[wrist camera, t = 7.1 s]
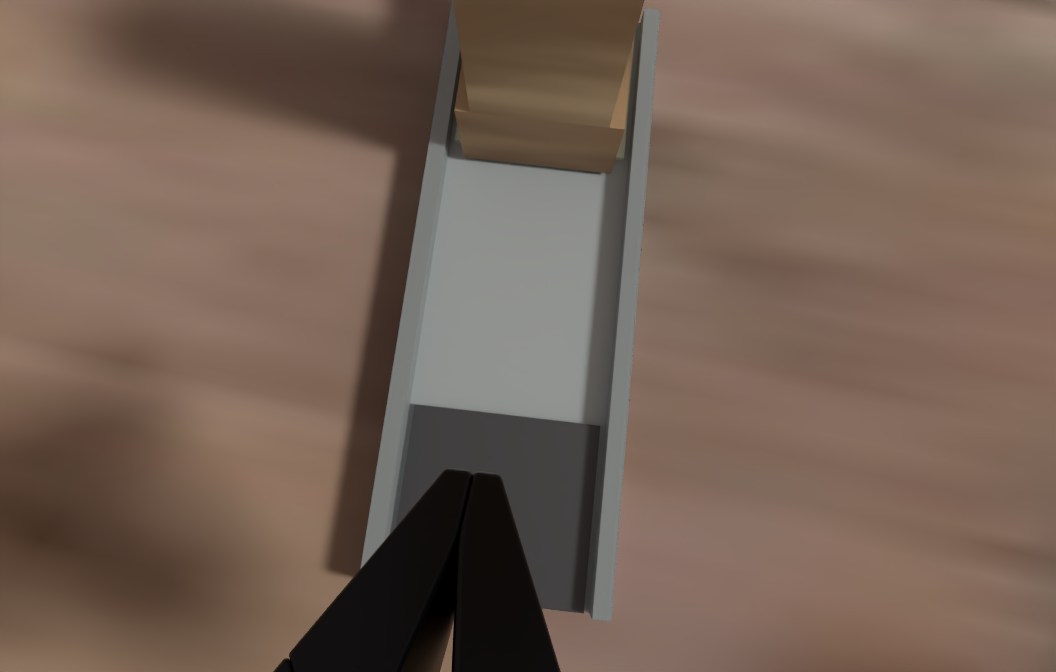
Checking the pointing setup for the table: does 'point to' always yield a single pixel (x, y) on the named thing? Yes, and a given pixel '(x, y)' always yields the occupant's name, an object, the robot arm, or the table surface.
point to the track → (523, 341)
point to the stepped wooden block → (544, 80)
